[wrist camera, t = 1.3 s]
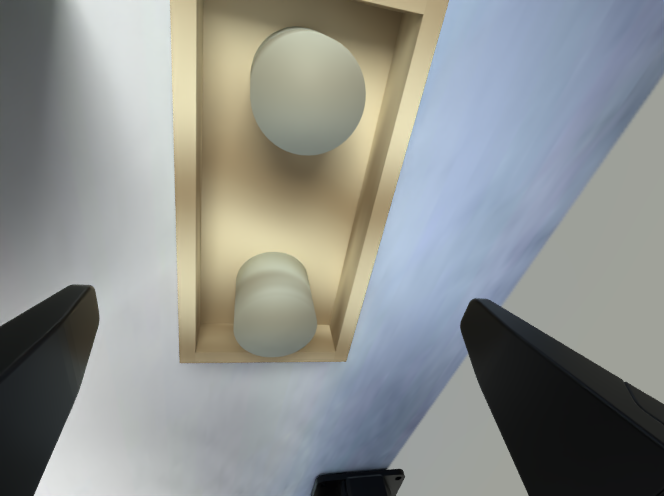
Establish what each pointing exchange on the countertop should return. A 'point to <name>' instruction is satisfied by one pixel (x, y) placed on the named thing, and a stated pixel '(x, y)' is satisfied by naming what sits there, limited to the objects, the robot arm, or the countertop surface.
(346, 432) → the countertop surface
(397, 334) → the countertop surface
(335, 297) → the tan wooden rectangular tray
